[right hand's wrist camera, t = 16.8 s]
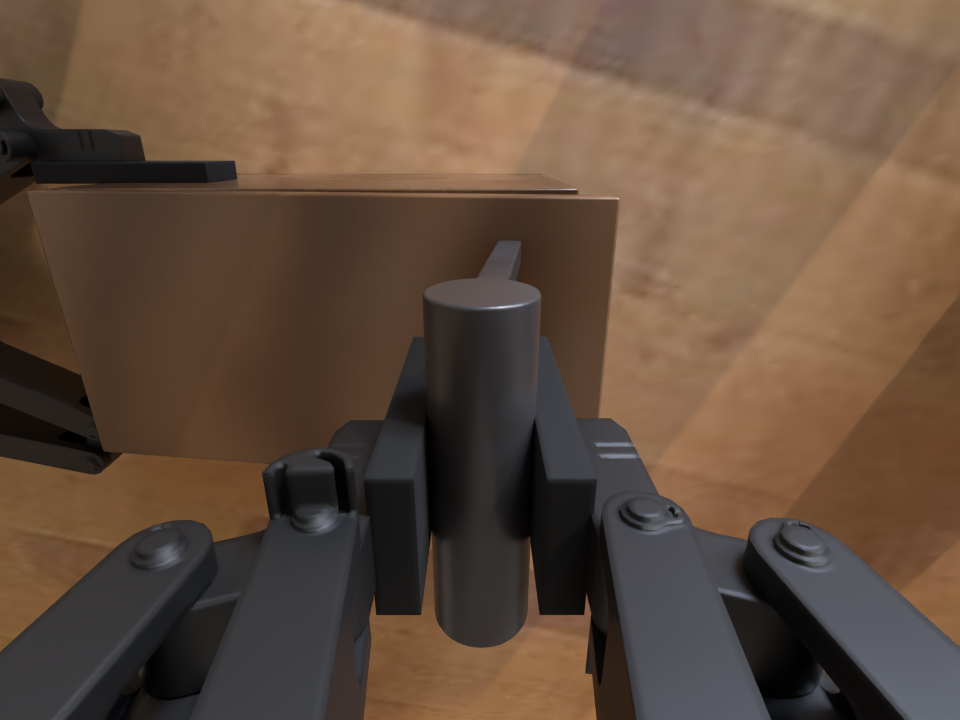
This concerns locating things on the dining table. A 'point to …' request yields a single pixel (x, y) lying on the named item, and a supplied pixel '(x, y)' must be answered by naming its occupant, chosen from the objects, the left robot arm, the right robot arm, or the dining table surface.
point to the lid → (343, 340)
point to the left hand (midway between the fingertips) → (242, 294)
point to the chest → (366, 184)
